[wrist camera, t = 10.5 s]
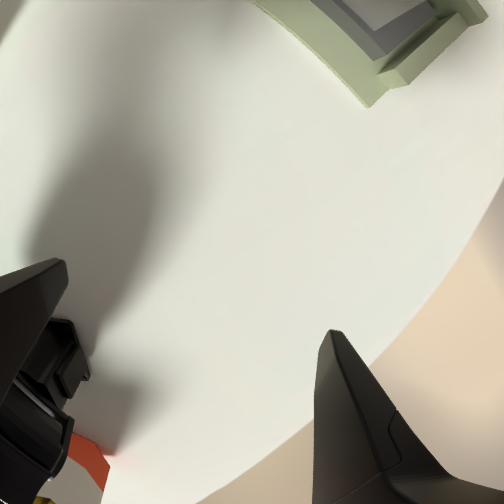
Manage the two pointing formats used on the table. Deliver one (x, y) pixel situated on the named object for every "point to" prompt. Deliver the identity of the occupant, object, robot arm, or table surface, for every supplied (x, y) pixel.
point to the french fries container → (77, 476)
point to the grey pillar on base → (377, 21)
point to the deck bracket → (357, 61)
